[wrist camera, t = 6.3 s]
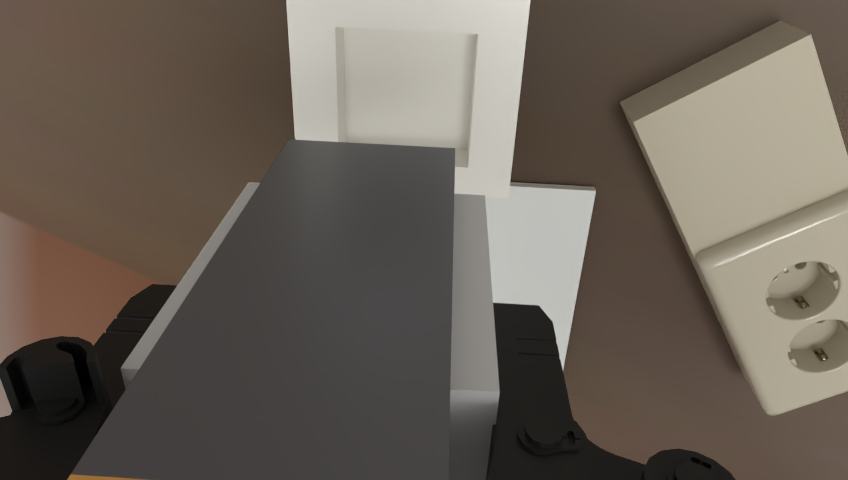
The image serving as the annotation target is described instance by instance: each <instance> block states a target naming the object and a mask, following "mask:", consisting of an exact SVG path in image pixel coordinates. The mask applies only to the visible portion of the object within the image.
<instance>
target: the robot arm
mask: <svg viewBox="0 0 848 480" xmlns="http://www.w3.org/2000/svg"><path fill="white" fill-rule="evenodd" d="M259 184H260V183H253V182H248V184H247V185H246V187H245V188H244V190H243V191H242V193H241V194H240V195H239V197H238V198H237V200H236V201H235V203H234V204H233V206H232V207H231V209H230V210H229V211H228V213H227V214H226V216H225V217H224V219H223V220H222V222H221V223H220V224H219V226H218V227H217V229H216V230H215V232H214V233H213V235H212V236H211V238H210V239H209V240H208V242H207V243H206V245H205V246H204V248H203V249H202V251H201V252H200V254H199V255H198V256H197V258H196V259H195V261H194V262H193V264H192V265H191V267H190V268H189V269H188V271H187V272H186V274H185V275H184V277H183V278H182V280H181V281H180V283H179V284H178V285H177V286H174V285H157V284H152V285H150V286H149V287H147V288H146V289H144V290H143V291H141V292H140V293H138V294H136V295H135V296H133V297H132V298H130V300H129V301H128V302H127V304H126V305H125V306H124V307H123V309H122V310H121V311H120V312H119V314H118V315H117V319H114V320H113V322H112V323H111V324H110V325H109V327H108V328H107V329H106V333H103V334H102V336H101V337H100V338H99V339H98V341H97V342H96V343H95V345H94V346H93V345H92V344H91V343H90V342H88V341H86V340H84V339H81V338H79V337H63V336H61V337H55V338H49V339H43V340H40V341H37V342H34V343H32V344H29V345H26V346H24V347H22V348H20V349H19V350H17V351H16V352H14V353H13V354H11V355H9V356H8V357H7V358H6V359H5V360H4V361H3V362H2V363H1V364H0V379H1V381H2V384H3V387H4V389H5V392H6V395H7V398H8V400H9V403H10V406H11V408H12V413H11V415H9V416H5V417H1V418H0V480H67V479H68V478H69V476H70V475H71V473H72V472H73V470H74V468H75V467H76V465H77V464H78V462H79V461H80V459H81V458H82V456H83V455H84V453H85V452H86V450H87V448H88V447H89V445H90V444H91V442H92V441H93V439H94V438H95V436H96V435H97V433H98V432H99V430H100V429H101V427H102V425H103V424H104V422H105V421H106V419H107V418H108V416H109V415H110V413H111V412H112V410H113V409H114V407H115V405H116V404H117V402H118V401H119V399H120V398H121V396H122V395H123V393H124V392H125V390H126V389H127V387H128V385H129V384H130V382H131V381H132V379H133V378H134V376H135V375H136V373H137V372H138V370H139V369H140V367H141V366H142V364H143V362H144V361H145V359H146V358H147V356H148V355H149V353H150V352H151V350H152V349H153V347H154V346H155V344H156V342H157V341H158V339H159V338H160V336H161V335H162V333H163V332H164V330H165V329H166V327H167V326H168V324H169V322H170V321H171V319H172V318H173V316H174V315H175V313H176V312H177V310H178V309H179V307H180V306H181V304H182V303H183V301H184V299H185V298H186V296H187V295H188V293H189V292H190V290H191V289H192V287H193V286H194V284H195V283H196V281H197V279H198V278H199V276H200V275H201V273H202V272H203V270H204V269H205V267H206V266H207V264H208V263H209V261H210V260H211V258H212V256H213V255H214V253H215V252H216V250H217V249H218V247H219V246H220V244H221V243H222V241H223V240H224V238H225V236H226V235H227V233H228V232H229V230H230V229H231V227H232V226H233V224H234V223H235V221H236V220H237V218H238V216H239V215H240V213H241V212H242V210H243V209H244V207H245V206H246V204H247V203H248V201H249V200H250V198H251V197H252V195H253V193H254V192H255V190H256V189H257V187H258V186H259ZM559 356H560V355H559V350H558V345H557V344H556V336H555V331H554V326H553V322H552V320H551V319H550V318H549V317H548V316H547V315H546V313H545V312H544V311H543V310H542V309H541V307H540V306H539V305H524V304H507V303H493V295H492V282H491V269H490V255H489V242H488V228H487V215H486V201H485V195H471V194H454V235H453V284H452V333H451V382H450V431H449V480H735V478H734V477H733V476H732V474H731V473H730V472H729V471H727V470H726V469H725V468H724V467H722V466H721V465H720V464H718V463H717V462H716V461H715V460H713V459H710V458H708V457H706V456H704V455H701V454H699V453H697V452H693V451H687V450H682V449H671V450H663V451H660V452H658V453H657V454H655V455H653V456H652V457H650V458H649V460H648V462H647V464H646V465H645V464H641V463H638V462H635V461H632V460H629V459H626V458H623V457H620V456H617V455H614V454H612V453H610V452H607V451H605V450H603V449H601V448H600V447H598V446H596V445H595V444H593V443H592V442H591V441H589V440H588V439H587V438H586V434H585V433H584V431H583V430H582V429H581V427H580V426H579V425H578V423H577V422H576V421H574V419H573V417H572V414H571V409H570V404H569V399H568V394H567V389H566V384H565V379H564V375H563V370H562V365H561V360H560V359H559Z"/></svg>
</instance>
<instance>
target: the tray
mask: <svg viewBox="0 0 848 480" xmlns="http://www.w3.org/2000/svg"><path fill="white" fill-rule="evenodd" d="M595 194H596V190H595V187H591V186H573V185H555V184H537V183H519V182H510V188H509V197H508V198H494V197H485V201H486V215H487V228H488V242H489V255H490V269H491V282H492V295H493V303H507V304H524V305H539V306H540V307H541V309H542V310H543V311H544V312H545V313H546V315H547V316H548V317H549V318H550V319H551V320H552V322H553V326H554V331H555V336H556V344H557V345H558V350H559V355H560V356H559V359H560V360H561V365H562V370H563V368H564V362H565V357H566V352H567V346H568V341H569V335H570V330H571V324H572V319H573V314H574V308H575V303H576V297H577V292H578V286H579V281H580V275H581V270H582V265H583V259H584V254H585V248H586V243H587V237H588V232H589V226H590V221H591V216H592V210H593V205H594V199H595Z"/></svg>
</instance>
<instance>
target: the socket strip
mask: <svg viewBox="0 0 848 480" xmlns="http://www.w3.org/2000/svg"><path fill="white" fill-rule="evenodd" d="M286 4H287V20H288V36H289V52H290V68H291V84H292V100H293V116H294V132H295V140H311V141H330V142H349V143H367V144H386V145H405V146H424V147H442V148H455V186H454V194H471V195H485V197H494V198H508V197H509V188H510V179H511V170H512V161H513V152H514V143H515V134H516V125H517V117H518V108H519V99H520V90H521V81H522V72H523V63H524V54H525V45H526V36H527V27H528V18H529V9H530V0H286Z"/></svg>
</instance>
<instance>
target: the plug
mask: <svg viewBox="0 0 848 480" xmlns="http://www.w3.org/2000/svg"><path fill="white" fill-rule="evenodd" d="M454 186H455V148H442V147H424V146H405V145H386V144H367V143H349V142H330V141H311V140H293V139H289V140H288V141H287V143H286V144H285V146H284V147H283V149H282V150H281V152H280V153H279V155H278V157H277V158H276V160H275V161H274V163H273V164H272V166H271V167H270V169H269V170H268V172H267V173H266V175H265V177H264V178H263V180H262V181H261V183H260V184H259V186H258V187H257V189H256V190H255V192H254V193H253V195H252V197H251V198H250V200H249V201H248V203H247V204H246V206H245V207H244V209H243V210H242V212H241V213H240V215H239V216H238V218H237V220H236V221H235V223H234V224H233V226H232V227H231V229H230V230H229V232H228V233H227V235H226V236H225V238H224V240H223V241H222V243H221V244H220V246H219V247H218V249H217V250H216V252H215V253H214V255H213V256H212V258H211V260H210V261H209V263H208V264H207V266H206V267H205V269H204V270H203V272H202V273H201V275H200V276H199V278H198V279H197V281H196V283H195V284H194V286H193V287H192V289H191V290H190V292H189V293H188V295H187V296H186V298H185V299H184V301H183V303H182V304H181V306H180V307H179V309H178V310H177V312H176V313H175V315H174V316H173V318H172V319H171V321H170V322H169V324H168V326H167V327H166V329H165V330H164V332H163V333H162V335H161V336H160V338H159V339H158V341H157V342H156V344H155V346H154V347H153V349H152V350H151V352H150V353H149V355H148V356H147V358H146V359H145V361H144V362H143V364H142V366H141V367H140V369H139V370H138V372H137V373H136V375H135V376H134V378H133V379H132V381H131V382H130V384H129V385H128V387H127V389H126V390H125V392H124V393H123V395H122V396H121V398H120V399H119V401H118V402H117V404H116V405H115V407H114V409H113V410H112V412H111V413H110V415H109V416H108V418H107V419H106V421H105V422H104V424H103V425H102V427H101V429H100V430H99V432H98V433H97V435H96V436H95V438H94V439H93V441H92V442H91V444H90V445H89V447H88V448H87V450H86V452H85V453H84V455H83V456H82V458H81V459H80V461H79V462H78V464H77V465H76V467H75V468H74V470H73V472H72V473H71V475H70V476H69V478H68V479H67V480H449V431H450V382H451V333H452V284H453V235H454Z"/></svg>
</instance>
